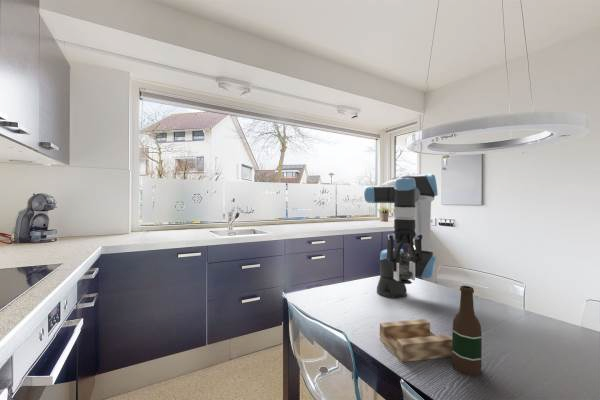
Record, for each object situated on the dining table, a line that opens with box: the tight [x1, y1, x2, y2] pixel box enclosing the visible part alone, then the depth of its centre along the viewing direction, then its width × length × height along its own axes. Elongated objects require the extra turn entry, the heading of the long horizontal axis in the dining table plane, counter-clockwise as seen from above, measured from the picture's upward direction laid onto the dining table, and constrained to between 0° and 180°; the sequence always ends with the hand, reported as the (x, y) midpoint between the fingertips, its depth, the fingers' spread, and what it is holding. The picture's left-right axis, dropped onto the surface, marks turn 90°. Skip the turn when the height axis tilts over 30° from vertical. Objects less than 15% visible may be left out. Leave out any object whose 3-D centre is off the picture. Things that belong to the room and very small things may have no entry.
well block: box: [379, 318, 452, 363], centre depth 90 cm, size 18×14×6 cm
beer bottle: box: [451, 285, 483, 377], centre depth 78 cm, size 8×8×24 cm
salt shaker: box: [397, 249, 413, 285], centre depth 101 cm, size 6×6×12 cm
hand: (404, 279), depth 101 cm, fingers closed on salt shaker, 6 cm apart
